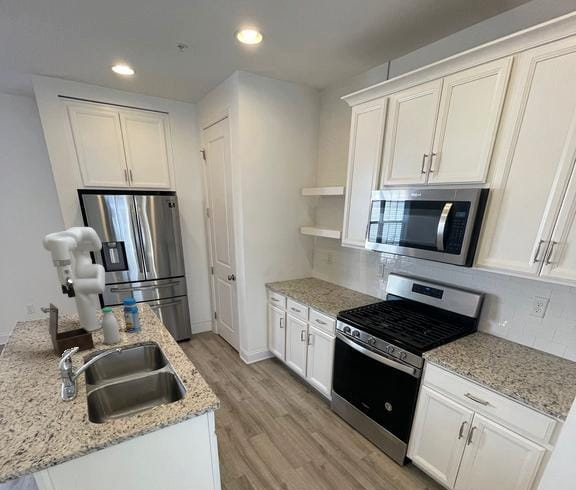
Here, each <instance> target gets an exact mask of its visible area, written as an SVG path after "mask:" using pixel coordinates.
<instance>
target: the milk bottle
mask: <svg viewBox="0 0 576 490" xmlns="http://www.w3.org/2000/svg"><path fill="white" fill-rule="evenodd" d="M102 314H103V316H102V319H101V320H102V324H101V325H102V327H101V328H102V333H103V338H104V339H103V340H104V343H105V344H107V345H113V344H117V343H119V342H120V341H121V335H120V329H119V324H118V321H117V318H115V316H114V314H113V309H112V307H103V308H102Z"/></svg>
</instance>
